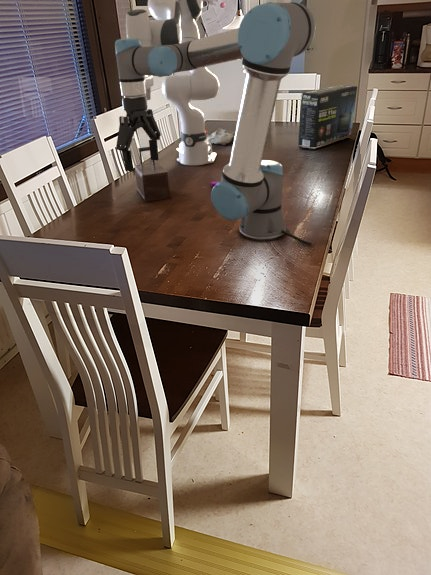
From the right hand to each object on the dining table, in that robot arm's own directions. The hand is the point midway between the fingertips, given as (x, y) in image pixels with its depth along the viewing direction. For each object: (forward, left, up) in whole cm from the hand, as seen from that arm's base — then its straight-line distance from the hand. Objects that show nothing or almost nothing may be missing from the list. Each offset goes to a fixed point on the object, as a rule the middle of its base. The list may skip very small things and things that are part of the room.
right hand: (142, 165), depth 151 cm
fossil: (+33, -108, -20) cm, 115 cm away
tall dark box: (+16, -23, -10) cm, 30 cm away
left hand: (+20, -30, +14) cm, 39 cm away
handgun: (-10, -38, -20) cm, 44 cm away
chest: (+15, -23, -20) cm, 34 cm away
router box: (-21, -127, -20) cm, 130 cm away
